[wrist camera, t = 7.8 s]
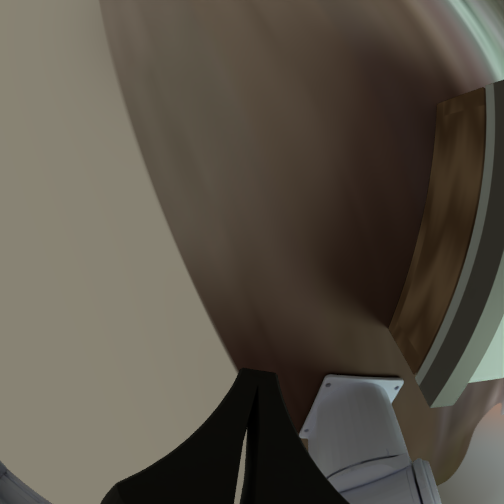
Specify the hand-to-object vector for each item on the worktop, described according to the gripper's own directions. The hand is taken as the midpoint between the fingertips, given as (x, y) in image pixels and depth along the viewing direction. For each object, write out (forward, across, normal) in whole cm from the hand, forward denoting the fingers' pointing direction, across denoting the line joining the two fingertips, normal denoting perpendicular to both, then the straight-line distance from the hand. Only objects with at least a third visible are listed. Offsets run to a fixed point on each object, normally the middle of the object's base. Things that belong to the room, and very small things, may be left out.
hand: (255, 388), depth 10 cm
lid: (+4, -19, -7) cm, 21 cm away
